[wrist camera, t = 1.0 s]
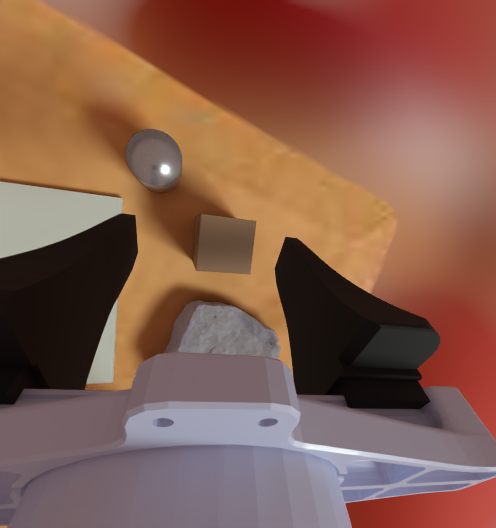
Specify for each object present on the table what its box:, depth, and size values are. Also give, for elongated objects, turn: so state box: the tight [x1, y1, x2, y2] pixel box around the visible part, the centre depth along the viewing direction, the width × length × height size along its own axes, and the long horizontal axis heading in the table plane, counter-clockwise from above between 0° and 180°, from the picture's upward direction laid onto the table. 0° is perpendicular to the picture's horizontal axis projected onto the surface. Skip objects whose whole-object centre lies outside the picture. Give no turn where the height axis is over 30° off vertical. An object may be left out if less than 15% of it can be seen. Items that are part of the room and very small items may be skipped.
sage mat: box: [0, 182, 123, 384], centre depth 22 cm, size 18×10×1 cm, turn 173°
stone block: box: [164, 300, 280, 359], centre depth 27 cm, size 12×5×10 cm
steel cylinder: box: [126, 129, 182, 193], centre depth 21 cm, size 4×4×5 cm
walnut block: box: [192, 214, 256, 274], centre depth 23 cm, size 4×4×6 cm
